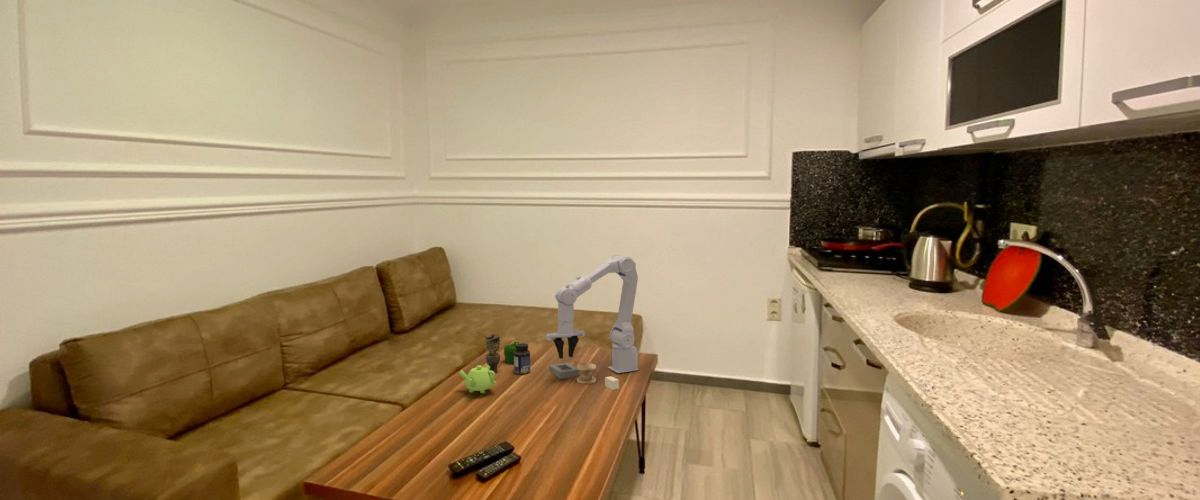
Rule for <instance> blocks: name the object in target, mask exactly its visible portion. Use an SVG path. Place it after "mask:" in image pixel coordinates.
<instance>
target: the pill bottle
mask: <svg viewBox="0 0 1200 500" xmlns="http://www.w3.org/2000/svg"><path fill="white" fill-rule="evenodd" d="M513 370H514V371H513V373H514V374H515V375H517V376H518V375H519V376H523V375H524V376H525V374H526V375H528V374H530V373H531V351H530V350H529V344H528V343H525V342H523V343H520V342H519V344H517V343H516V351H515V352H514V364H513Z"/></svg>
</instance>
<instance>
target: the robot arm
mask: <svg viewBox="0 0 1200 500" xmlns="http://www.w3.org/2000/svg"><path fill="white" fill-rule="evenodd" d="M636 267H637V263H636V262H635V261H634V260H633V258H631V257H630V256H621V255H619V254H615V255H612V256H611V257H610V258H609V257H608V258H607V259H606V260H605V261H604V262H602V264H600V265H599V266H598V267H596V268H594V269H593V270H592V271H591V272H589V274H588V275H578V276H576V277H575V279H574V280H572V282H570V283H567V284H565V286H563V287H560V288H559V289H558V290H557V292H556V294H555V296H554V298H555V300H556V301H557V331H556V332H552V333H547V334H546V335H545V337H546V339H545V340H547V341H552V342H553V344H554V345H555V347H556V350H557V354H558V355H557V356H558V358H559V359H561V360H562V359H563V358H564V345H565V341H564V340H563V339H567V345H568V350H567V351H568V353H567V354H568V357H569V358H573V357H574V353H575V350H576V347H577V345H578V343H579V339H580V337H586V331H585V330H583V329H581V330H575V329H574V327H575V326H574V324H575V323H574V321H575V320H574V318H575V317H574V316H575V315H574V312H575V311H574V307H575V306H574V305H575V303H576V301H577V299H578V298H579V297H580V296H582V295H583V294H584V293H586V292H588V291H589V290H590V289H591V288H592V284H593V283H595V282H596V281H598V280H599V279H601V278H603V277H604V276H607V275H608V274H611V273H613V274H614V273H615V274H617V275H618V276H619V277H620V278H621V280H622V286H621V287H622V288H621V294H620V300H619V305H618V306H619V307H618V313H617V319H616V321H615V322H614V323H613V325H612V329H611V330H610V332H609V335H608V336H609V340H610V342H612V343H611V345H612V347H611V348H612V351H611V352H612V353H611V354H612V359H611V360H612V361H611V364H612V365H611V366H607V368H608V370H611V371H613V372H615V373H616V374H620V373H621V374H622V373H630V372H634V371H639V367H638V365H639V364H638V363H639V359H638V358H639V355H638V349H637V347H636V346H635V345H634V343H635V340H636V339H635V335H634V332H635V331H634V330H635V329H634V327H633V324H632V319H633V313H634V312H633V311H634V305H635V299H636V293H637V287H638V283H639V276H638V273H637V268H636Z"/></svg>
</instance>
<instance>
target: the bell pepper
mask: <svg viewBox="0 0 1200 500" xmlns="http://www.w3.org/2000/svg"><path fill="white" fill-rule="evenodd" d="M516 344H520V341H518V340H515V341H514V342H513V343H511V344H507V345H506V344H505V345H504V347H503V355H504V360H505V363H506V364H508V365H514V352H515V351H516Z"/></svg>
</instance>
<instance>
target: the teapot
mask: <svg viewBox="0 0 1200 500" xmlns="http://www.w3.org/2000/svg"><path fill="white" fill-rule="evenodd" d="M458 374H459V375H460V376H461V377H462V379H463V380H464V386H465V387H466V388H467V389H468V393H474V392H475V391H476V392H477V391H478V392H479V393H480V394H485V393H486V390H490V389H491V388H492V387H493V386H496V385H497V381H496V380H495V378H496V372H493V371H491V370H490V366H489V365H488V364H487V365H485V367H484V366H483V365H481V364H480V365H479V364H478V365H476V366H475V367H473V368H471V369H470V370H469V372H468V374H466V372H464V370H463V369H461V370H460V371H458Z"/></svg>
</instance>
